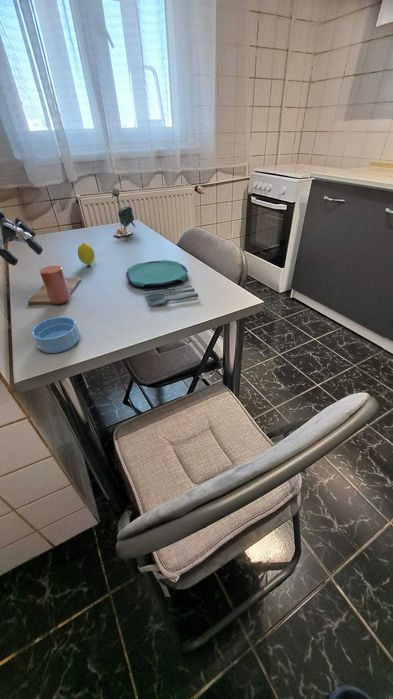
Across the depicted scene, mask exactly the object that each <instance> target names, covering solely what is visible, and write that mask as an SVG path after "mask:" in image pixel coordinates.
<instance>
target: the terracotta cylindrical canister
mask: <svg viewBox="0 0 393 699" xmlns="http://www.w3.org/2000/svg"><path fill="white" fill-rule="evenodd" d="M39 274H40V277H41V280H42V283H43V285H44V286H45V288H46V291H47V294H48V297H49V299H50V301H51V302H54V303H59V302H64V301H66V302H67V301H68V300H69V299H71V297H72V296H71V295H70V293H69V289H68V286H67V283H66V280H65V278H66V277H65V274H64V270H63V267H62V266H60V265H49V266H45V267H43V268H41V269H39Z"/></svg>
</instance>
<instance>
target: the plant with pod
mask: <svg viewBox="0 0 393 699" xmlns="http://www.w3.org/2000/svg"><path fill="white" fill-rule="evenodd" d="M111 190H112V191H111V195H112V196H111V199H113V198H114V197H115V198H116V200H117V206H118V214H117V215H118V219H119V223H120V227H118V228H116V232H113V235H114V236H116V237H125V236H129V235H131V234H132V232H130V231H128V230H127V227H128V226H129V225H130V224H132V226H133V227H134V228H136V225H135V223H134V220H135V216H134V214H133V208H132V206H130V205H127V204H126V205H124V206H122V207H120V200H119V196H120V189H119V188H118V187H116V186H113V187H112V189H111ZM122 226H123V227H122Z"/></svg>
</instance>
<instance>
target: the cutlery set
mask: <svg viewBox="0 0 393 699" xmlns="http://www.w3.org/2000/svg"><path fill="white" fill-rule="evenodd" d="M126 270H127V271H126V272H125V278H126V279H127V280H128V282H131V284H132V285H134V286H137V287H142V288H143V287H144V286H145V287H146V286H148V287H158V286H159V287H160V286H165V285H169V284H173V283H176V282H178V281H179V282H180V281H182V283H184V282H185V281H186V280H187V279H188V269H187V267H186V266H185V265H183V264H182V263H180V261H175V260H167V259H163V260H154V261H153V260H152V261H146V262H140V263H136V264H134V265H131V266H130V267H128V268H127V269H126ZM192 287H193V286H192V285H187V286H178V287H173V286H172V287H168V288H165V289H155V290H150V291H146V292H144V293H143V295H144V296H145V300H149V301H150V302H147V306H150V307H151V306H152V307H153V306H156V305H158V306H159V305H166V304H169V303H170V302H172V301H173V302H174V301H183V300H188V299H192V298H193V299H194V298H198V297H199V293H197V292H196V293H195V290H196V289H195V288H194V287H193V288H192ZM186 288H187V289H186ZM179 289H180V290H179ZM182 289H183V290H182ZM176 290H179V291H176ZM171 291H174V292H171ZM163 292H165V293H166V292H168V293H167V294H165V293H163ZM193 292H194V293H193ZM185 293H192V294H188V295H184V296H179V297H172V298H171V297H170V298H169V296H174V295H177V294H185ZM165 297H166V298H165Z"/></svg>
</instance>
